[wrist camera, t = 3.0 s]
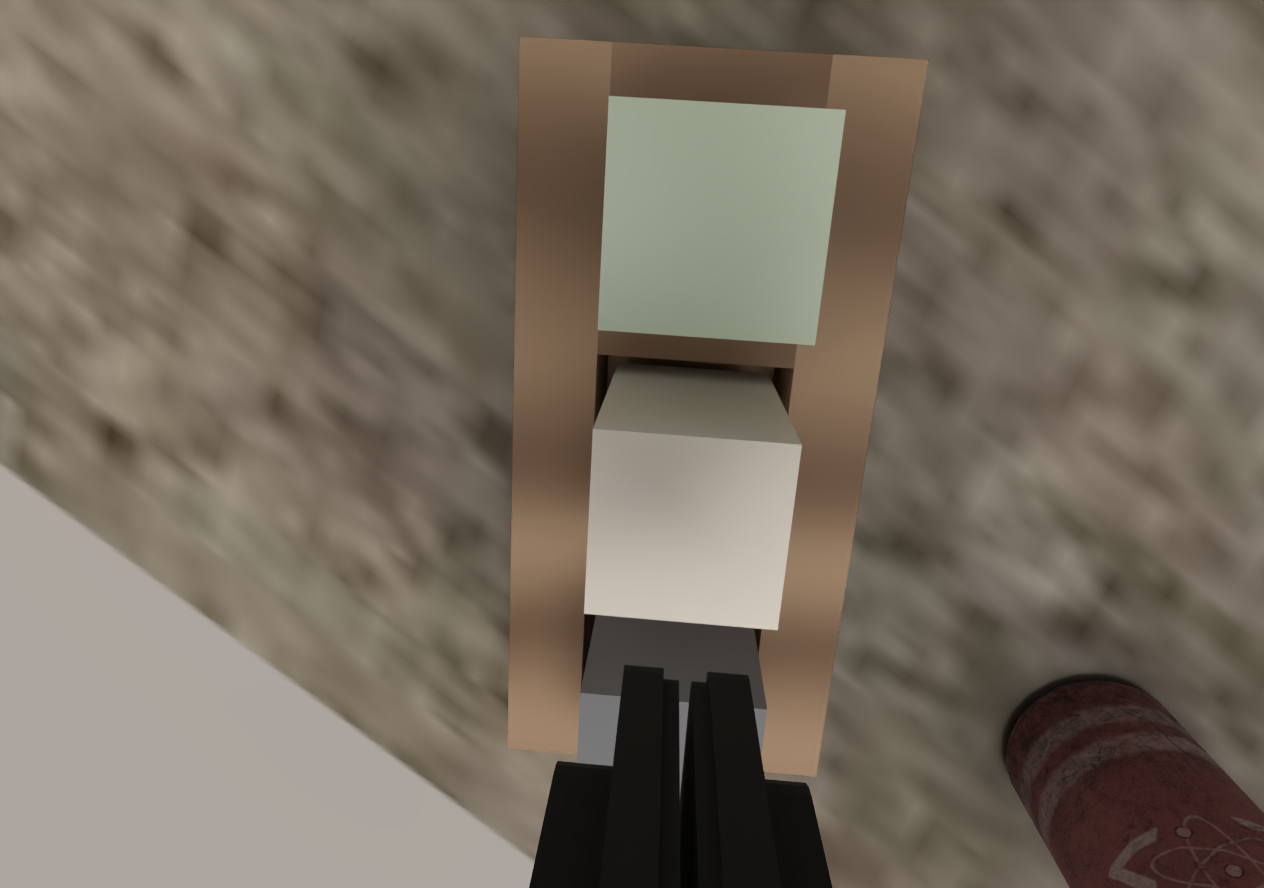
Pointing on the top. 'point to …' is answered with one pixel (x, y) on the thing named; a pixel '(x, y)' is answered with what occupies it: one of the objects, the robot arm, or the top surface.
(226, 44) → the top surface
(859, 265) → the brown wooden block rack
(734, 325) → the key sage
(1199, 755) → the can
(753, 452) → the key ivory
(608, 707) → the key charcoal
